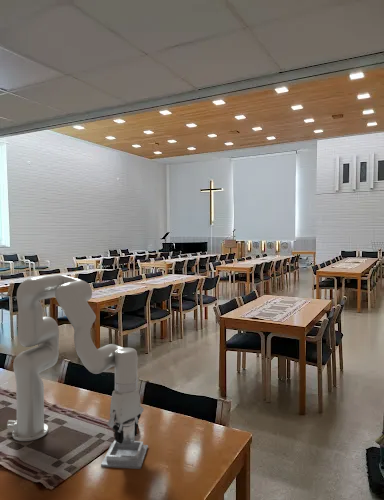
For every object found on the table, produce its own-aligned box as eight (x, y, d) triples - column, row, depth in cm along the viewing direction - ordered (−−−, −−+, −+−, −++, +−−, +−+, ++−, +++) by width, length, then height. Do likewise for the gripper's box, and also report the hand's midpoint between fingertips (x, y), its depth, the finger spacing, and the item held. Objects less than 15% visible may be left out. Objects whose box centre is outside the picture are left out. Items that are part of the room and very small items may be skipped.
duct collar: (101, 466, 130) (101, 458, 130) (111, 445, 143) (111, 437, 143) (140, 468, 129) (140, 460, 129) (147, 447, 142) (147, 439, 142)
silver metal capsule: (113, 441, 135) (113, 420, 135) (127, 434, 140) (127, 414, 140) (125, 447, 131) (125, 426, 131) (138, 440, 136) (138, 419, 136)
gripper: (137, 376, 144) (137, 425, 145) (98, 390, 131) (98, 444, 131) (152, 381, 139) (152, 432, 140) (113, 396, 126) (113, 452, 127)
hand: (126, 437), depth 136 cm, fingers closed on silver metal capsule, 5 cm apart
